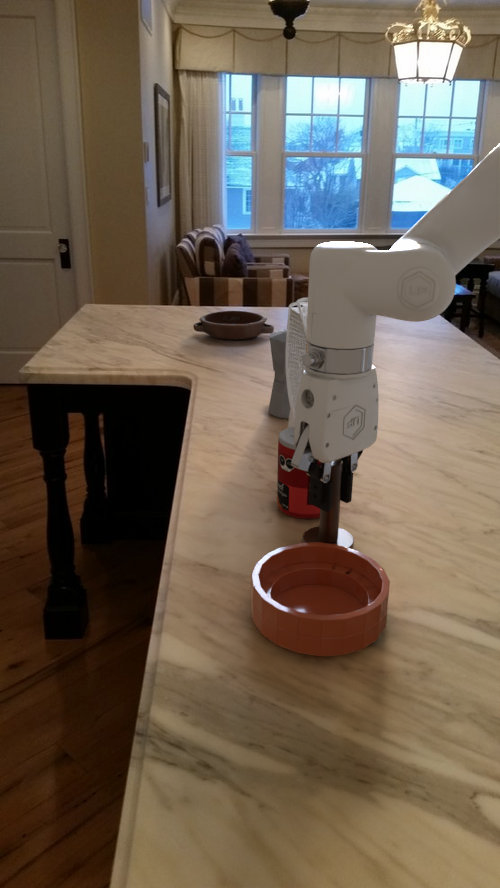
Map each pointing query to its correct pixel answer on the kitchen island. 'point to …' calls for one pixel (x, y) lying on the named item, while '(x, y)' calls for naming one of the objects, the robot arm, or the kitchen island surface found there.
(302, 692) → the kitchen island surface
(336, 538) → the brown coffee tamper
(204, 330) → the dish
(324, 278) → the robot arm
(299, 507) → the canned food
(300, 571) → the bowl
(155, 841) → the kitchen island surface
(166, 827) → the kitchen island surface
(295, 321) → the skyscraper
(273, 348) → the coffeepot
